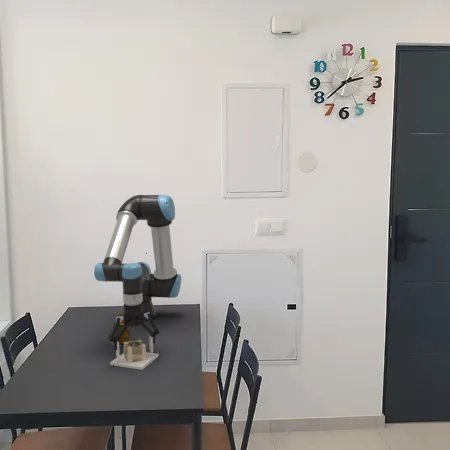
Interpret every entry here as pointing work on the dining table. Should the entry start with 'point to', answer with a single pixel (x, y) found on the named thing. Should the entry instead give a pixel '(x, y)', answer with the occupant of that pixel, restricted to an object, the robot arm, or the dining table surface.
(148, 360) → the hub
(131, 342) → the wooden hollow block
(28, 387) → the dining table surface
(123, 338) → the condiment
